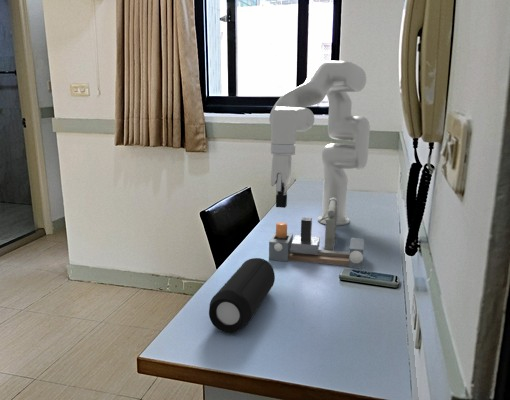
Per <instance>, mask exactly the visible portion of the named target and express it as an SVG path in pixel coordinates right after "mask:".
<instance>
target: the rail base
mask: <svg viewBox="0 0 510 400" xmlns="http://www.w3.org/2000/svg"><path fill="white" fill-rule="evenodd" d="M349 255H350V251H341V250H340V251H338V250H334V251H330V250H324V249H320V248H319V249H318V252H317V254H307V253H295V252H291V248H290V253H289V255H288V261H293V262H305V263H313V264H325V265H326V264H327V265H337V266H348V267H349Z"/></svg>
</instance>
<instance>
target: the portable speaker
mask: <svg viewBox="0 0 510 400" xmlns="http://www.w3.org/2000/svg"><path fill="white" fill-rule="evenodd" d="M275 277H276V275H275V270H274V267H273V266H272V265H271V263H270V262H269V261H268V260H266V259H264V258H260V257H254V258H250V259H247V260H246V261H244V262H243V263H242V264H241V265H240V267H239V268H238V269H237V270H236V271H235V272H234V273H233V274H232V275H231V276H230V278H229V279H228V280H227V281H226V282H225V283H224V285H223V286H222V287H221V288H219V290H218V291H217V292H216V293H215V294H214V295H213V297H212V298H211V300H210V303H209V307H208V308H209V309H208V316H209V319H210V322H211V323H212V325H213V326H214V327H215V328H216V329H217V330H218V331H221V332H223V333H227V334H230V333H235V332H238V331H241V330H243V329H245V327H247V326H248V324H249V323H250V321H251V320H252V318H254V315H255V314H256V312H257V311H258V309H259V308H260V306H261V305H262V304H263V302H264V300H265V299H266V297H267V295H268V294H269V292H270V291H271V289H272V288H273V286H274V284H275Z"/></svg>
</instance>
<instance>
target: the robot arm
mask: <svg viewBox="0 0 510 400" xmlns="http://www.w3.org/2000/svg"><path fill="white" fill-rule="evenodd" d="M366 75H367V74H366V71H365V70H364V69H363V68H362V67H361V66H359V65H357V64H355V63H353V62H352V61H348V60H323V61H320V62H318V63H317V64H316V65H315V66H314V67H313V69H312V70H311V72H310V73H309V75H308V77H306V79H305V81H304V82H303V83H302V84H300V85H299V86H297V87H295V88H293V89H291V90H289V91H288V92H286V93H284V94H283V95H282V96H280V97H279V98H278V99H277V101H276V102H275V104H274V105H273V107H272V109H271V111H270V113H269V118H268V119H269V124H270V127H271V130H270V155H272V161H271V174H270V176H271V177H270V186H271V187H274V186H275V185H276V188H275V189H276V193H275V194H276V195H275V207H276V208H283V209H285V208H287V206H288V202H287V201H288V185H289V184H290V182H291V179H292V156H293V155H296V139H297V138H296V135H297V133H296V132H303V133H304V132H307V131H309V130H310V129H311V128H312V127H313V126H314V123H315V115H314V113H313V111H312V110H311V109H310V108H309V107H312V106H315V105H318V104H320V103H321V102H323V100H324V99H325V97H327V100H328V120H327V134H328V137H329V138H330V139H333V140H337V141H349V142H353V143H354V144H350V143H349V144H348V143H339V142H333V143H331V142H330V143H328V144H326V145H325V146H324V147H323V149H322V152H321V160H322V166H323V180H322V181H323V184H322V203H321V204H322V205H321V206H322V207H321V212H322V213H321V215H319V216H318V217H317V221H318V222H319V221H320V220H321V218H322V217H323V216H324V214H325V213H326V212H327V211H328V206H329V200H330V198H333V197H334V198H336V199H337V217H336V226H345V225H348V224H350V218H349V217H348V216H347V202H348V201H347V200H348V197H347V196H348V185H349V183H348V181H349V179H348V175H347V174H346V172H345V170H352V171H361V170H363V169H365V167H366V166H367V163H368V156H369V155H368V154H369V145H370V131H371V130H370V129H371V125H370V121H369V119H368V118H367V117H365V116H362V115H352V104H353V102H352V98H351V97H350V96H349V94H348V93H350V92H351V93H358V92H361V91H363V90H364V88H365V86H366V84H367V76H366ZM307 107H308V108H307ZM327 213H328V212H327ZM338 216H339V217H338ZM325 217H327V214H326V215H325V216H324V218H325ZM319 223H320V224H323V225H326V219H324V220H322V221H321V222H319Z"/></svg>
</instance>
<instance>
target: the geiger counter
mask: <svg viewBox="0 0 510 400" xmlns="http://www.w3.org/2000/svg"><path fill="white" fill-rule="evenodd" d="M327 212H328V213H327ZM327 212H326V213H325V214H324V216H325V215H326V214H327V217H325V218H324V216H323V217H322V218H321V220H320V221H318V222H319V223H320V222H321V221H322V220H324V219H326V224H325V233H324V234H325V235H324V249H323V250H330V251H335V250H334V248H335V245H338V243H335V242H336V240H335V239H336V237H337V235H336V233H337V230H336V229H337V228H338V227H339V226H340V225H338V226H336V217H337V199H336V198H334V197H333V198H330V200H329V206H328V211H327ZM338 217H339V216H338Z"/></svg>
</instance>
